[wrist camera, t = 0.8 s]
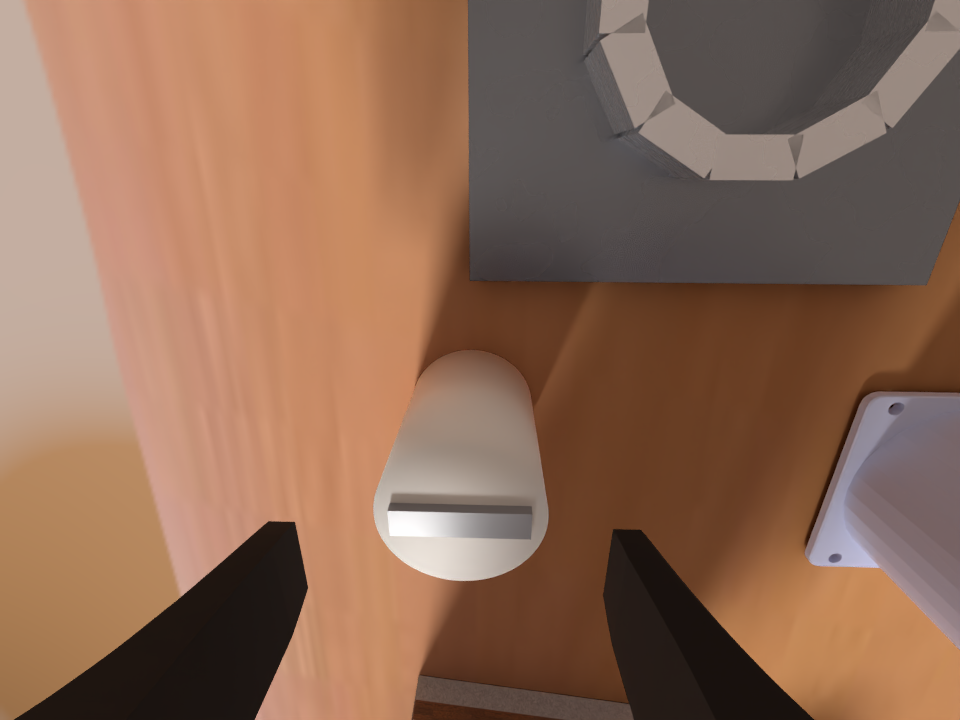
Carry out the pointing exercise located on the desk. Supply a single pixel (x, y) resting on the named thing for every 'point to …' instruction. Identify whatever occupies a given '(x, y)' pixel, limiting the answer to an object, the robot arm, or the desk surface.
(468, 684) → the tall hollow white pillar
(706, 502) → the desk surface
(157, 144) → the desk surface
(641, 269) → the duct base
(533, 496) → the cylinder
